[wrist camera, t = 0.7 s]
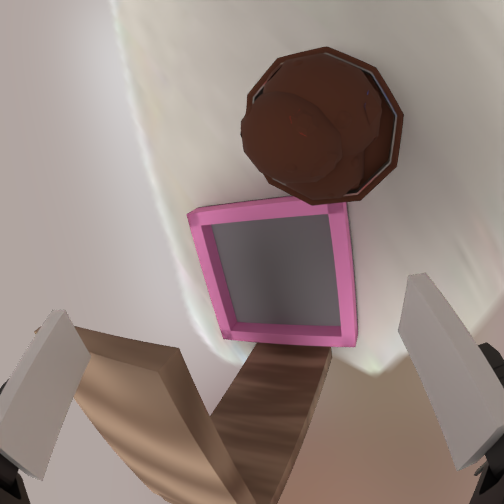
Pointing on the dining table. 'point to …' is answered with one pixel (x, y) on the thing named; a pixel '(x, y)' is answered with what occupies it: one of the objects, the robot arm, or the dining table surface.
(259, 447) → the display shelf
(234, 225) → the seat plate
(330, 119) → the ice cream bowl
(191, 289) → the dining table surface
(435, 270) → the dining table surface
